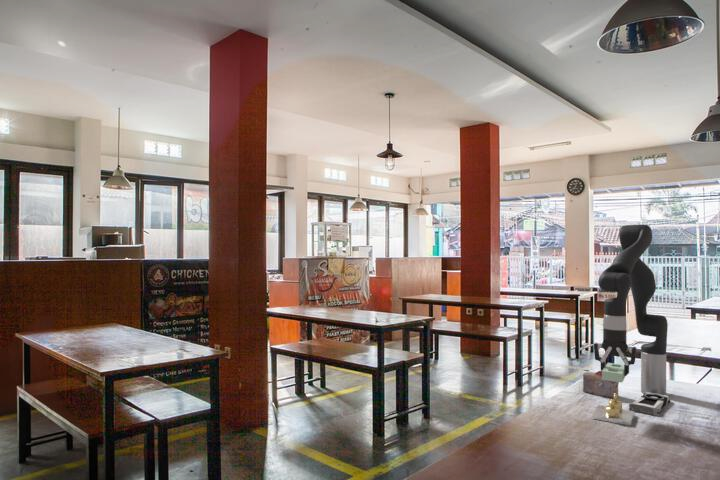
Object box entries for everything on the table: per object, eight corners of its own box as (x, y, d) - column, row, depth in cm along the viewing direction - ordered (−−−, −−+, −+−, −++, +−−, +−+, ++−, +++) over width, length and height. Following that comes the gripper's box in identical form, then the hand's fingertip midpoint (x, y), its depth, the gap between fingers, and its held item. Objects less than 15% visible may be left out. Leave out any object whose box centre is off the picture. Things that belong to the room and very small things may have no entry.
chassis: (598, 409, 187) (598, 389, 187) (634, 415, 181) (634, 394, 181) (592, 418, 176) (592, 397, 176) (630, 425, 169) (630, 404, 170)
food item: (622, 396, 205) (622, 372, 205) (614, 400, 199) (614, 375, 200) (588, 389, 215) (588, 366, 215) (580, 392, 209) (580, 369, 210)
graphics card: (628, 403, 186) (645, 390, 204) (628, 412, 186) (645, 398, 204) (659, 409, 179) (673, 395, 197) (659, 418, 179) (673, 403, 197)
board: (607, 370, 187) (607, 362, 187) (626, 373, 183) (626, 365, 183) (601, 379, 174) (601, 371, 174) (622, 382, 170) (622, 373, 170)
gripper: (638, 328, 178) (638, 374, 178) (594, 324, 186) (594, 369, 186) (636, 331, 172) (636, 379, 171) (591, 327, 180) (591, 373, 179)
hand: (614, 373), depth 179 cm, fingers closed on board, 6 cm apart
